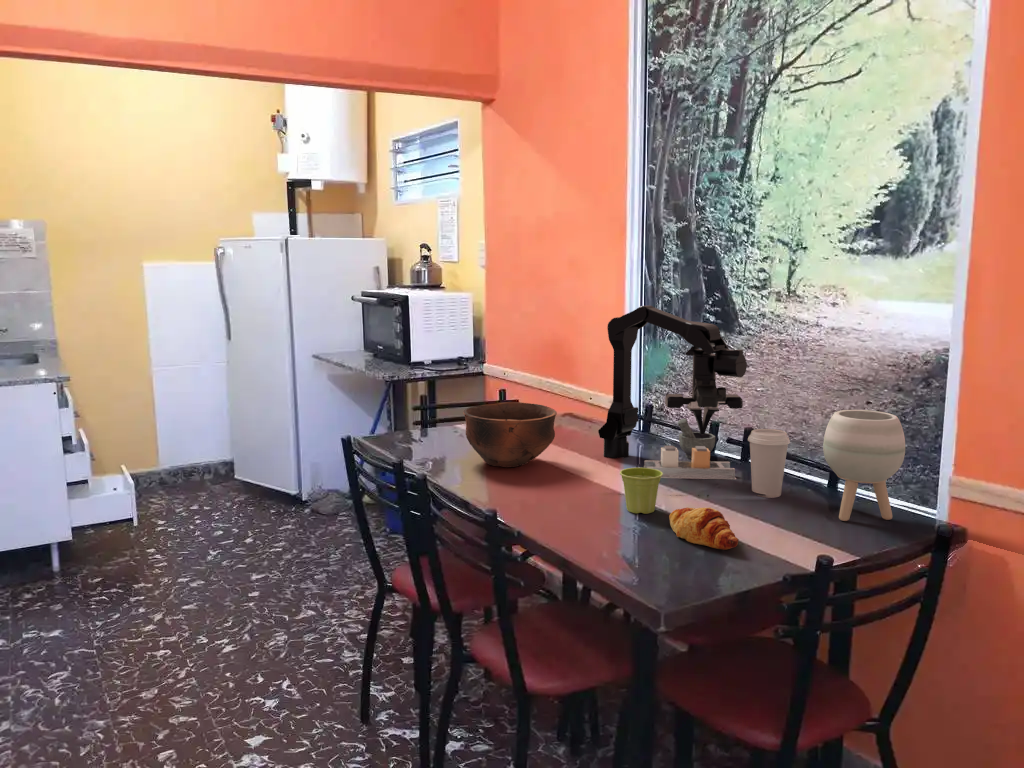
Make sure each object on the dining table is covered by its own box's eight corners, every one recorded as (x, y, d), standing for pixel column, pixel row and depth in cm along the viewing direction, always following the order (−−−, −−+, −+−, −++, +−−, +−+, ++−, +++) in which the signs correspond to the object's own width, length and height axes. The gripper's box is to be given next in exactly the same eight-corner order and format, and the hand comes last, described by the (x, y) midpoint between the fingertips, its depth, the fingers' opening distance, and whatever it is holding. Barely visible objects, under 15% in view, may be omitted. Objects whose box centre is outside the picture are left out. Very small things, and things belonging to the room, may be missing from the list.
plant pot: (610, 509, 181) (610, 471, 180) (638, 501, 187) (639, 465, 186) (642, 519, 174) (643, 480, 173) (670, 511, 180) (671, 473, 179)
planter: (829, 526, 169) (835, 421, 166) (811, 503, 185) (817, 407, 182) (911, 529, 167) (919, 423, 164) (886, 506, 183) (893, 409, 180)
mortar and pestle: (700, 454, 233) (702, 413, 231) (721, 461, 224) (722, 419, 223) (667, 458, 229) (668, 416, 227) (687, 465, 220) (688, 422, 218)
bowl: (498, 480, 205) (498, 422, 203) (447, 461, 225) (446, 407, 223) (574, 466, 220) (574, 411, 217) (519, 449, 239) (519, 398, 237)
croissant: (659, 540, 172) (645, 510, 169) (694, 513, 175) (680, 483, 172) (724, 572, 152) (709, 539, 150) (762, 541, 155) (747, 508, 153)
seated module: (662, 473, 208) (662, 448, 207) (660, 469, 212) (661, 445, 211) (677, 474, 208) (678, 448, 207) (675, 470, 212) (676, 445, 211)
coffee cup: (792, 492, 194) (795, 431, 192) (780, 502, 187) (783, 438, 184) (752, 486, 200) (755, 426, 197) (739, 495, 192) (742, 433, 190)
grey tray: (647, 480, 205) (648, 469, 204) (643, 468, 217) (643, 458, 216) (736, 482, 203) (736, 471, 203) (727, 470, 215) (727, 459, 215)
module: (693, 474, 208) (694, 449, 207) (691, 470, 212) (692, 445, 211) (709, 474, 208) (710, 449, 207) (706, 470, 211) (707, 445, 211)
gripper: (670, 378, 199) (669, 440, 201) (748, 378, 197) (746, 441, 199) (665, 372, 210) (664, 431, 212) (739, 372, 208) (736, 432, 210)
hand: (702, 434), depth 208 cm, fingers closed
